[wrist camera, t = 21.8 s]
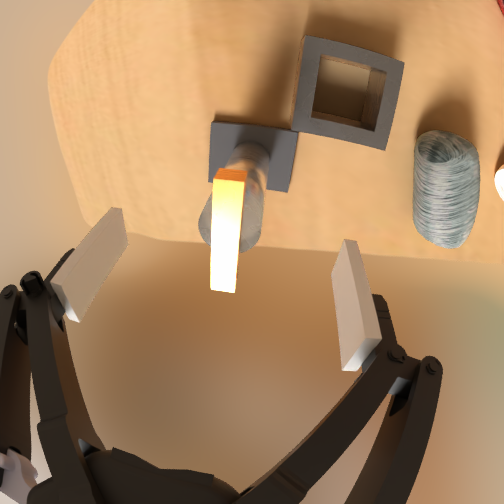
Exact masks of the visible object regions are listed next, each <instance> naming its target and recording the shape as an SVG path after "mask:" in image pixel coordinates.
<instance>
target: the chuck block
mask: <svg viewBox="0 0 504 504" xmlns="http://www.w3.org/2000/svg"><path fill="white" fill-rule="evenodd" d="M320 58H324V59H329V60H333V61H337V62H341V63H345V64H349V65H353V66H357V67H360V68H364V69H367V70H371V71H370V77H369V82H368V88H367V93H366V98H365V103H364V108H363V113H362V117H361V122H360V121H356V120H352V119H348V118H344V117H340V116H335V115H331V114H326V113H321V112H316V111H312V107H313V101H314V95H315V89H316V82H317V76H318V70H319V63H320ZM403 69H404V62H402V61H399V60H396V59H394V58H391V57H388V56H385V55H382V54H379V53H376V52H373V51H370V50H366V49H363V48H360V47H356V46H352V45H349V44H345V43H341V42H337V41H332V40H328V39H323V38H318V37H313V36H308V35H305V36H304V37H303V39H302V40H301V45H300V52H299V59H298V66H297V73H296V80H295V87H294V94H293V101H292V108H291V114H290V126H291V130H292V131H298V132H304V133H310V134H315V135H320V136H325V137H330V138H335V139H340V140H344V141H348V142H353V143H357V144H361V145H365V146H369V147H373V148H377V149H380V150H384V151H385V149H386V145H387V142H388V138H389V134H390V130H391V126H392V122H393V118H394V113H395V109H396V104H397V100H398V95H399V90H400V85H401V80H402V75H403Z"/></svg>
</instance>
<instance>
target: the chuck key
mask: <svg viewBox="0 0 504 504" xmlns="http://www.w3.org/2000/svg"><path fill="white" fill-rule="evenodd" d="M269 160H270V157H269V153H268V151H267V149H266V148H265V147H264V146H263V145H262V144H260V143H258V142H256V141H245V142H242V143H240V144H239V145H238V146H237V147H236V148H235V149H234V151H233V153H232V155H231V157H230V158H229V160H228V162H227V164H226V166H225V168H219V170H218V171H217V173H216V175H215V177H214V178H213V191H212V193H211V195H210V197H209V199H208V201H207V203H206V205H205V207H204V209H203V211H202V213H201V215H200V218H199V223H198V226H199V232H200V234H201V236H202V238H203V239H204V241H205V242H206V243H207V244H208V245H209V246H211V289H213V290H219V291H226V292H233V293H234V292H235V286H236V281H237V275H238V265H239V254H240V253H242V252H245V251H247V250H249V249H251V248H252V247H253V246H254V245H255V244H256V243H257V241H258V240H259V237H260V234H261V226H262V218H263V210H264V202H265V194H266V185H267V177H268V169H269Z"/></svg>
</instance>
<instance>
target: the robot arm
mask: <svg viewBox="0 0 504 504" xmlns="http://www.w3.org/2000/svg"><path fill="white" fill-rule="evenodd" d="M127 246H128V240H127V235H126V230H125V224H124V219H123V213H122V208H113V207H111V209H110V210H109V211H108V212H107V213H106V214H105V215H104V216H103V217H102V218H101V219H100V221H99V222H98V223H97V224H96V225H95V226H94V227H93V228H92V230H91V231H90V232H89V233H88V234H87V235H86V237H85V238H84V239H83V240H82V241H81V243H80V244H79V245H78V246H77V247H76V249H74V248H72V249H71V250H69V251H68V252H67V253H65V254H64V256H63V257H62V258H61V259H60V261H59V262H58V263H57V264H56V266H55V267H54V268H53V270H52V271H51V272H50V273H49V275H48V276H47V277H46V279H45V280H44V281H43V279H42V277H41V275H40V273H39V272H38V271H31V272H29V273H27V274H25V275H24V276H23V277H22V279H21V281H20V286H21V287H22V289H23V291H18V289H17V287H16V286H15V285H8V286H6V287H5V288H4V289H3V290H2V291H1V293H0V491H2V492H3V493H4V494H6V495H7V496H9V497H10V498H12V499H13V500H15V501H16V502H18V503H19V504H299V503H300V502H301V501H302V500H303V499H304V497H305V496H306V494H307V492H308V490H309V489H310V488H311V487H312V486H313V485H314V484H315V483H316V482H317V481H318V480H319V479H320V478H321V477H322V476H323V475H324V474H325V473H326V471H328V469H329V468H330V467H331V466H332V465H333V464H334V463H335V462H336V461H337V460H338V458H339V457H340V456H341V455H342V454H343V453H344V451H345V450H346V449H347V448H348V447H349V445H350V444H351V443H352V442H353V440H354V439H355V438H356V437H357V435H358V434H359V433H360V432H361V430H362V429H363V428H364V426H365V425H366V424H367V422H368V421H369V419H370V418H371V417H372V415H373V414H374V413H375V411H376V410H377V408H378V407H379V405H380V403H382V401H383V399H384V398H385V397H386V395H387V394H388V393H389V394H392V396H391V400H390V402H389V405H388V408H387V411H386V414H385V417H384V419H383V422H382V425H381V427H380V430H379V433H378V435H377V437H376V440H375V442H374V445H373V447H372V449H371V452H370V454H369V456H368V458H367V460H366V463H365V465H364V467H363V469H362V471H361V473H360V475H359V477H358V479H357V481H356V483H355V485H354V487H353V489H352V491H351V492H350V494H349V496H348V498H347V500H346V502H345V503H344V504H406V502H407V499H408V497H409V495H410V492H411V490H412V487H413V485H414V482H415V480H416V477H417V474H418V472H419V469H420V466H421V463H422V459H423V457H424V454H425V450H426V447H427V443H428V440H429V437H430V433H431V429H432V425H433V421H434V416H435V412H436V408H437V403H438V398H439V392H440V387H441V380H442V374H443V368H442V365H441V363H440V362H439V361H438V359H436V358H435V357H433V356H426V357H425V358H423V359H422V360H418V359H415V358H412V357H409V356H407V354H406V352H405V350H404V349H403V348H402V347H401V346H400V345H398V344H397V341H396V336H395V332H394V328H393V324H392V320H391V316H390V313H389V309H388V306H387V302H386V301H385V300H384V298H383V297H382V296H381V295H376V294H371V290H370V286H369V282H368V279H367V275H366V271H365V268H364V264H363V261H362V258H361V254H360V251H359V248H358V244H357V241H353V240H347V239H344V241H343V244H342V246H341V249H340V252H339V255H338V258H337V260H336V263H335V266H334V269H333V271H332V274H331V278H332V285H333V291H334V299H335V307H336V315H337V324H338V333H339V342H340V353H341V364H342V370H344V371H357V370H358V369H359V367H360V366H361V365H362V373H361V375H360V376H359V377H358V378H357V379H356V380H355V381H354V384H353V385H352V386H351V387H350V388H349V390H348V391H347V392H346V393H345V394H344V396H343V397H342V398H341V399H340V401H339V402H338V403H337V404H336V405H335V406H334V407H333V409H331V411H330V412H329V413H328V414H327V415H326V416H325V417H324V418H323V419H322V420H321V421H320V423H319V424H318V425H317V426H316V427H315V428H314V429H313V430H312V431H311V432H310V433H309V434H308V435H307V436H306V437H305V438H304V439H303V440H302V441H301V442H300V443H299V444H298V445H297V446H296V447H295V448H294V449H293V450H292V451H291V452H289V453H288V454H287V455H286V456H285V457H284V458H283V459H282V460H281V461H280V462H279V463H277V465H275V466H274V467H273V468H272V469H271V470H269V471H268V472H267V473H266V474H265V475H263V476H262V477H261V478H259V479H258V480H257V481H255V482H254V483H253V484H252V485H250V486H249V487H248V488H247V489H245V490H244V491H243V492H241V493H240V494H239V493H238V492H237V491H236V490H235V489H234V488H233V487H232V486H230V485H229V484H227V483H226V482H224V481H222V480H220V479H218V478H216V477H214V475H212V474H207V473H201V472H196V471H192V470H177V469H176V470H175V469H159V468H158V467H156V466H154V465H152V464H150V463H149V462H147V461H145V460H143V459H141V458H139V457H137V456H136V455H133V454H130V453H128V452H125V451H122V450H119V449H117V448H114V447H113V449H112V450H106V449H105V447H104V445H103V443H102V441H101V440H100V438H99V437H98V436H97V434H96V433H95V430H94V428H93V426H92V423H91V420H90V417H89V414H88V412H87V409H86V406H85V403H84V400H83V397H82V393H81V390H80V387H79V383H78V379H77V376H76V372H75V368H74V364H73V361H72V356H71V351H70V347H69V342H68V337H67V332H66V327H65V321H64V319H63V315H64V313H65V312H66V314H67V316H68V317H69V319H71V320H74V321H77V322H79V323H80V322H81V320H82V318H83V316H84V315H85V313H86V311H87V309H88V308H89V306H90V304H91V303H92V301H93V299H94V297H95V296H96V294H97V292H98V291H99V289H100V288H101V286H102V284H103V283H104V281H105V280H106V278H107V276H108V275H109V273H110V272H111V270H112V269H113V267H114V265H115V264H116V262H117V261H118V259H119V258H120V256H121V255H122V253H123V252H124V250H125V249H126V247H127ZM15 323H16V324H15ZM31 372H32V378H33V384H34V390H35V395H36V400H37V405H38V409H39V414H40V419H41V420H40V423H38V424H37V431H38V435H39V439H40V442H41V445H42V448H43V452H44V455H45V458H46V461H47V464H48V467H49V469H50V472H51V475H52V477H51V478H48V479H47V480H45V481H43V482H41V483H39V484H37V483H36V481H35V479H36V478H37V475H38V473H37V470H36V469H35V468H34V467H33V466H32V464H31V431H30V378H31V377H30V376H31Z"/></svg>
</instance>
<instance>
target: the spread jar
mask: <svg viewBox="0 0 504 504" xmlns="http://www.w3.org/2000/svg"><path fill="white" fill-rule="evenodd" d="M495 186H496V189H497V191H498V193H499V195H500V197H501V198H502V200H503V201H504V165H502V166H501V167H500V168H499V170H498V171H497V172H496V174H495Z"/></svg>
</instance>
